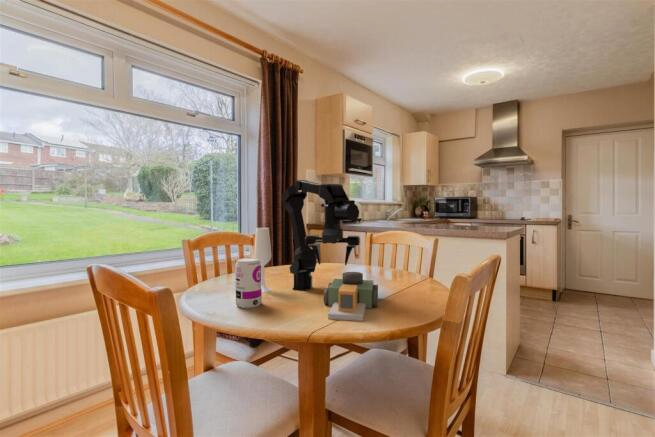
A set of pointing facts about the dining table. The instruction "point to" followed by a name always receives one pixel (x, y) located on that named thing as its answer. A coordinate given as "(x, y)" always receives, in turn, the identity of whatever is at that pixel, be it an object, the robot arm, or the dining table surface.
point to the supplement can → (248, 282)
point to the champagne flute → (263, 252)
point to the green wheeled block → (365, 296)
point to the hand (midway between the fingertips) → (332, 264)
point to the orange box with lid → (347, 298)
